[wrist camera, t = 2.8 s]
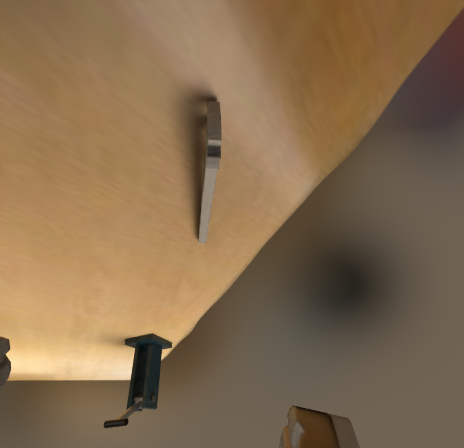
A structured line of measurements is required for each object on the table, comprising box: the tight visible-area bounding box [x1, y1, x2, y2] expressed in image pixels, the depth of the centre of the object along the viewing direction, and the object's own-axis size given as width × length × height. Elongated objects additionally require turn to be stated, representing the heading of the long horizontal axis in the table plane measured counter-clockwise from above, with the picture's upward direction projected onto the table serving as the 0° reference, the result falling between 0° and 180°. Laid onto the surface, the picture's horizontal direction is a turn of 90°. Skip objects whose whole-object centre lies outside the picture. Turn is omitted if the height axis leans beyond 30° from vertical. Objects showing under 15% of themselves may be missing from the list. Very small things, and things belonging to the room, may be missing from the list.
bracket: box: [125, 334, 172, 411], centre depth 67 cm, size 9×8×15 cm
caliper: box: [198, 101, 221, 243], centre depth 29 cm, size 20×1×6 cm, turn 173°
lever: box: [104, 392, 144, 428], centre depth 60 cm, size 11×5×2 cm, turn 23°
